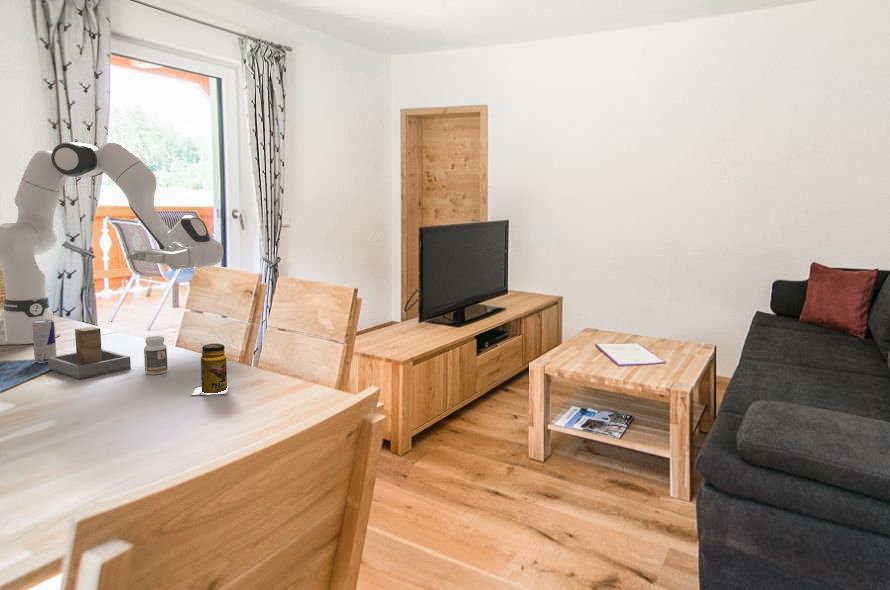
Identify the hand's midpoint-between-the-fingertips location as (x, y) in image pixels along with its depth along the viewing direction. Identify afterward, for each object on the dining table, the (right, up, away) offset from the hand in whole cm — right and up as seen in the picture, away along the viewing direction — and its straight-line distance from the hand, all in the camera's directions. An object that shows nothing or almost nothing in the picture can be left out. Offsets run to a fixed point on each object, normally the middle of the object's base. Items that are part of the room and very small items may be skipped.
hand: (136, 258), depth 181 cm
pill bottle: (+13, -33, -15) cm, 38 cm away
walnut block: (-6, -32, -14) cm, 35 cm away
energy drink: (-23, -31, -7) cm, 39 cm away
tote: (-6, -32, -14) cm, 35 cm away
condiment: (+34, -36, -30) cm, 58 cm away
